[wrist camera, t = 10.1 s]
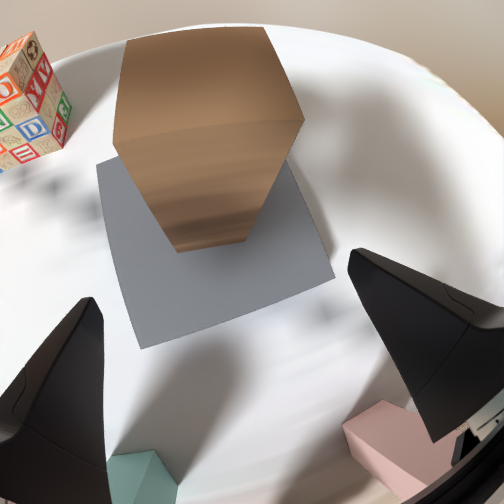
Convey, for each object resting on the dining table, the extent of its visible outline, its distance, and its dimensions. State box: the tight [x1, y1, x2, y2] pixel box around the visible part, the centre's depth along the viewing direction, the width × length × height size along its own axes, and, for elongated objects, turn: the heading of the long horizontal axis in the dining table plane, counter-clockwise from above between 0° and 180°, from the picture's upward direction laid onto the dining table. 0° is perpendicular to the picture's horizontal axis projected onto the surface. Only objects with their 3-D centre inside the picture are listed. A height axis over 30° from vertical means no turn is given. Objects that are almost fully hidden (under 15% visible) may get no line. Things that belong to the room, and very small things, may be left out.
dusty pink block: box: [342, 400, 462, 501], centre depth 13 cm, size 4×4×12 cm
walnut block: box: [113, 27, 305, 253], centre depth 12 cm, size 4×4×12 cm
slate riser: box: [96, 156, 336, 349], centre depth 19 cm, size 14×14×3 cm
